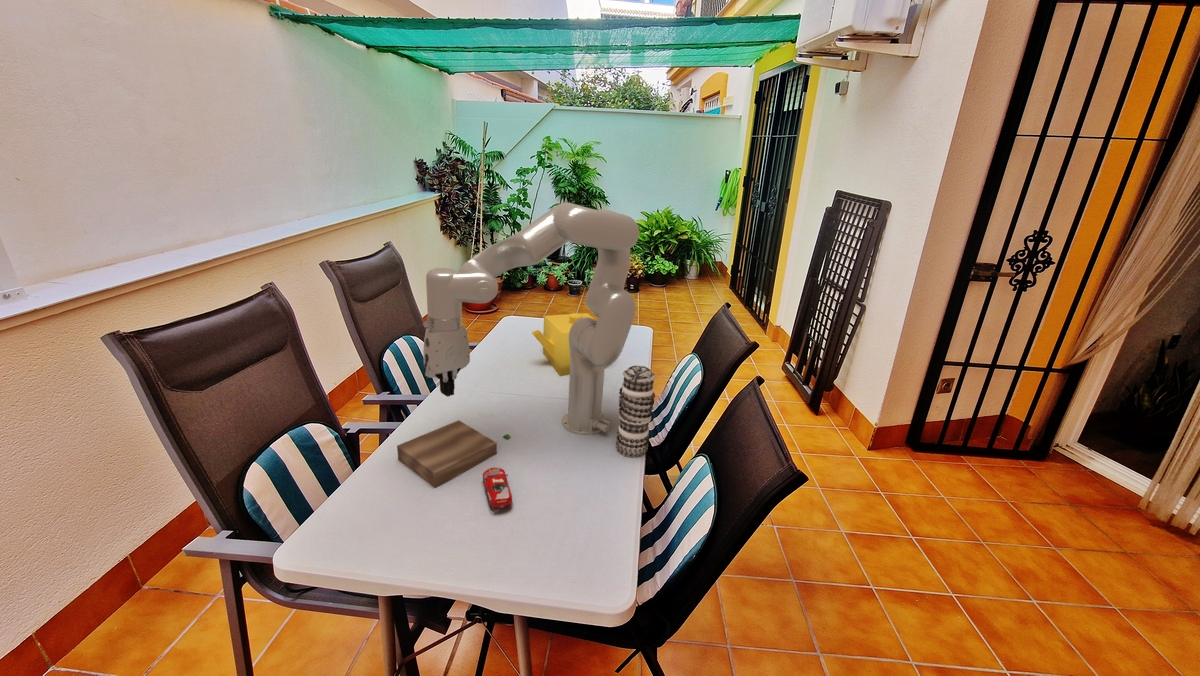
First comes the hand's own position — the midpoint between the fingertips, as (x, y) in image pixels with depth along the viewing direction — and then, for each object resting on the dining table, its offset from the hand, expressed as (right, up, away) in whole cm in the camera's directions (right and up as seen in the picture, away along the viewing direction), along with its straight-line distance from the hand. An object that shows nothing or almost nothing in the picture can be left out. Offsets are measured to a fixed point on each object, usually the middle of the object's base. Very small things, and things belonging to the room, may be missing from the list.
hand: (447, 393), depth 119 cm
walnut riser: (-1, -17, +5) cm, 18 cm away
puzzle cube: (+11, -15, +13) cm, 23 cm away
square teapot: (+27, +1, +61) cm, 66 cm away
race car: (+11, -23, -4) cm, 26 cm away
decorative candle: (+45, -18, +11) cm, 50 cm away
